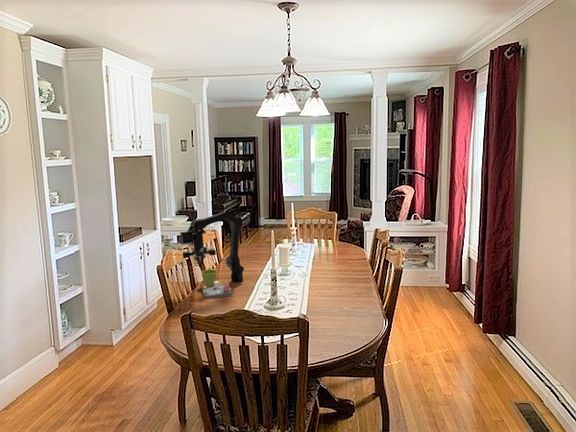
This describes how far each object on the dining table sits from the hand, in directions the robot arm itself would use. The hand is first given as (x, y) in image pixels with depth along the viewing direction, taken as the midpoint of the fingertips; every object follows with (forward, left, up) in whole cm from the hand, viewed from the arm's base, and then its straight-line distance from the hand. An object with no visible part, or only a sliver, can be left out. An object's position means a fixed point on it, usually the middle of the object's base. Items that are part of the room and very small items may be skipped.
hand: (200, 267), depth 265 cm
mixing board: (-8, +11, -12) cm, 19 cm away
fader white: (-8, +7, -11) cm, 15 cm away
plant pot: (-5, -4, -13) cm, 14 cm away
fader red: (-13, +16, -11) cm, 23 cm away
